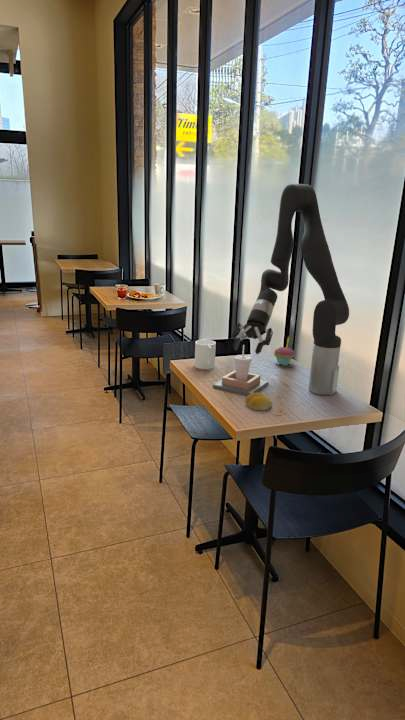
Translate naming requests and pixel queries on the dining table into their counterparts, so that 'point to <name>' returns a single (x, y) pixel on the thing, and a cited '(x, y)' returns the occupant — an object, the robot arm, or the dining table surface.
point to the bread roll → (258, 401)
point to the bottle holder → (241, 384)
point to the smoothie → (242, 366)
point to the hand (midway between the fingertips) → (245, 351)
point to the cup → (205, 354)
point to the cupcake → (284, 354)
